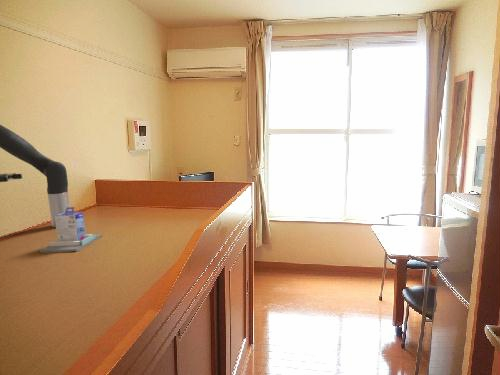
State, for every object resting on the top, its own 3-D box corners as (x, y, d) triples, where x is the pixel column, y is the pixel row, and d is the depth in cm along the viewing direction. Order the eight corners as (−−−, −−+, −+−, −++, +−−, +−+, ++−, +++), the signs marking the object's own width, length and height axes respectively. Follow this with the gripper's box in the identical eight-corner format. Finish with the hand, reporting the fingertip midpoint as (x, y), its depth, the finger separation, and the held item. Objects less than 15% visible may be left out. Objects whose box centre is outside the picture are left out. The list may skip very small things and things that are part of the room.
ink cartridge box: (87, 239, 149) (83, 206, 147) (79, 243, 143) (74, 209, 141) (66, 239, 151) (62, 206, 148) (57, 243, 145) (52, 209, 143)
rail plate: (69, 237, 157) (69, 232, 157) (101, 236, 156) (101, 231, 156) (40, 252, 138) (39, 246, 137) (76, 251, 137) (76, 245, 136)
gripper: (-37, 173, 145) (0, 170, 144) (-10, 169, 159) (24, 167, 158) (-33, 190, 146) (3, 188, 145) (-7, 185, 160) (27, 183, 159)
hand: (14, 177), depth 151 cm, fingers open, 8 cm apart
